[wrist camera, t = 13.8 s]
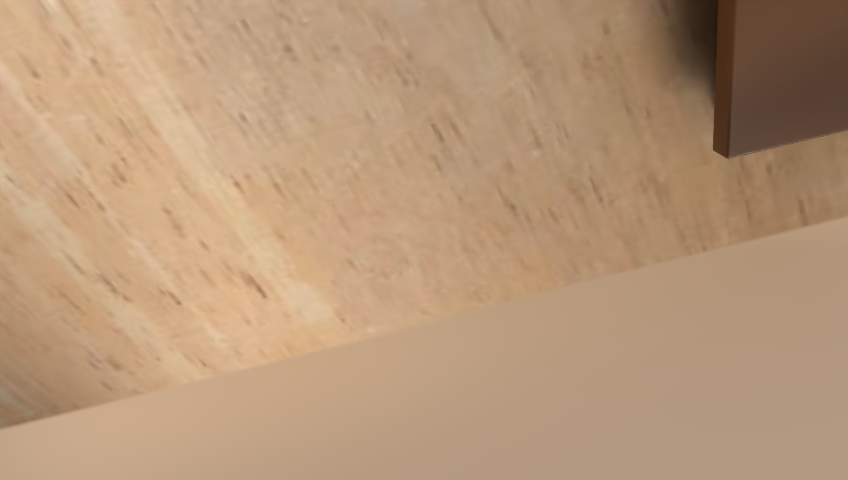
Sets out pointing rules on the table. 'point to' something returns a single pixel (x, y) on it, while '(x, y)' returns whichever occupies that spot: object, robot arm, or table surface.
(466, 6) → the table surface
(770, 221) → the table surface
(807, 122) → the board
